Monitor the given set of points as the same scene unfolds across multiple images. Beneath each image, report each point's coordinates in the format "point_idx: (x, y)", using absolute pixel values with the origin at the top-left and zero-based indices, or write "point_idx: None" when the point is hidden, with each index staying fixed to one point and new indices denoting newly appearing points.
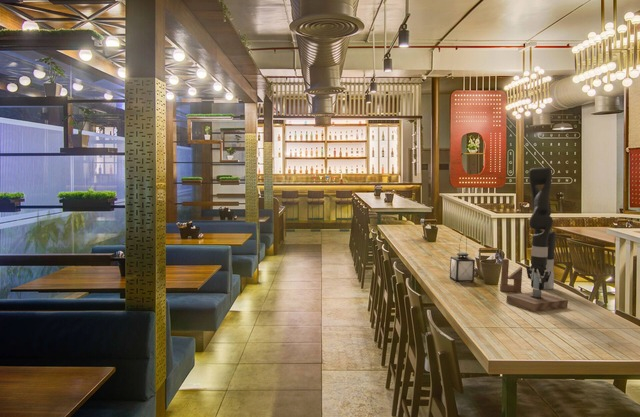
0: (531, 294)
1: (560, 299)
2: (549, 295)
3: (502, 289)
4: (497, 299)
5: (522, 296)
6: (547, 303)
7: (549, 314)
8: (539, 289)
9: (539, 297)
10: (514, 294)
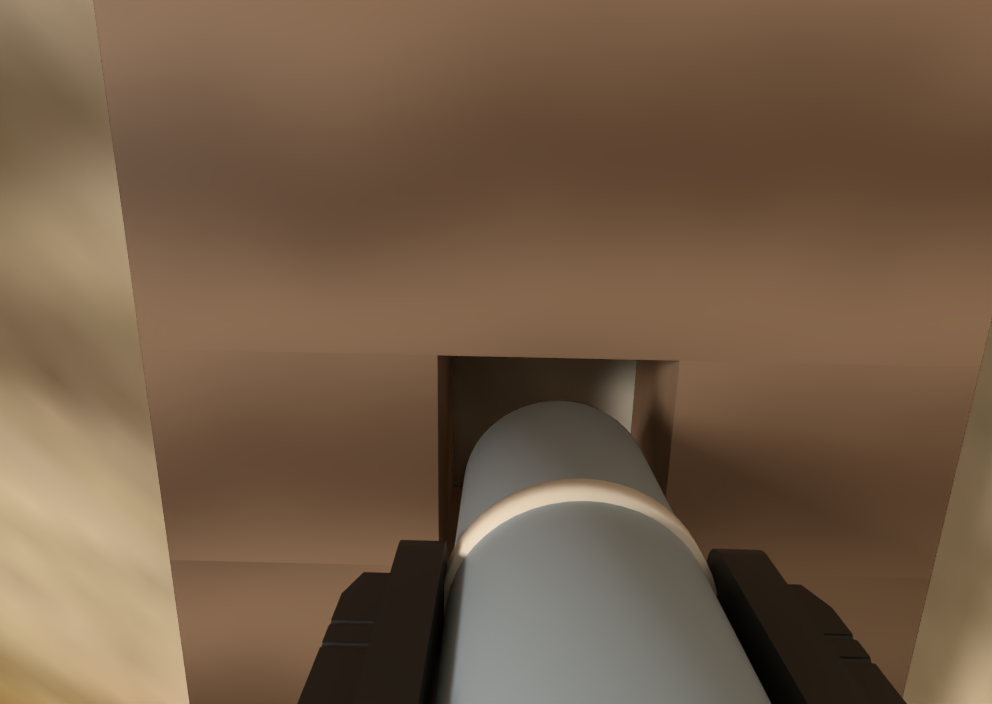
0: (311, 382)
1: (942, 85)
2: (535, 7)
3: None
4: (72, 700)
5: None
6: (914, 567)
7: (985, 623)
8: None
9: (521, 352)
10: (217, 698)
